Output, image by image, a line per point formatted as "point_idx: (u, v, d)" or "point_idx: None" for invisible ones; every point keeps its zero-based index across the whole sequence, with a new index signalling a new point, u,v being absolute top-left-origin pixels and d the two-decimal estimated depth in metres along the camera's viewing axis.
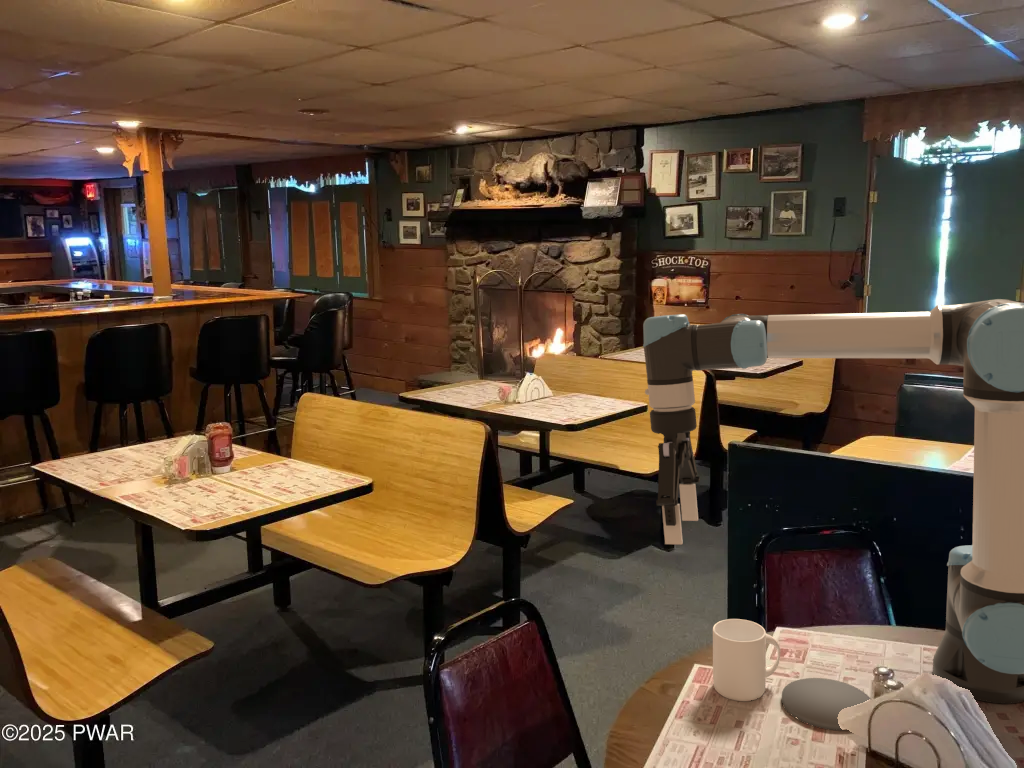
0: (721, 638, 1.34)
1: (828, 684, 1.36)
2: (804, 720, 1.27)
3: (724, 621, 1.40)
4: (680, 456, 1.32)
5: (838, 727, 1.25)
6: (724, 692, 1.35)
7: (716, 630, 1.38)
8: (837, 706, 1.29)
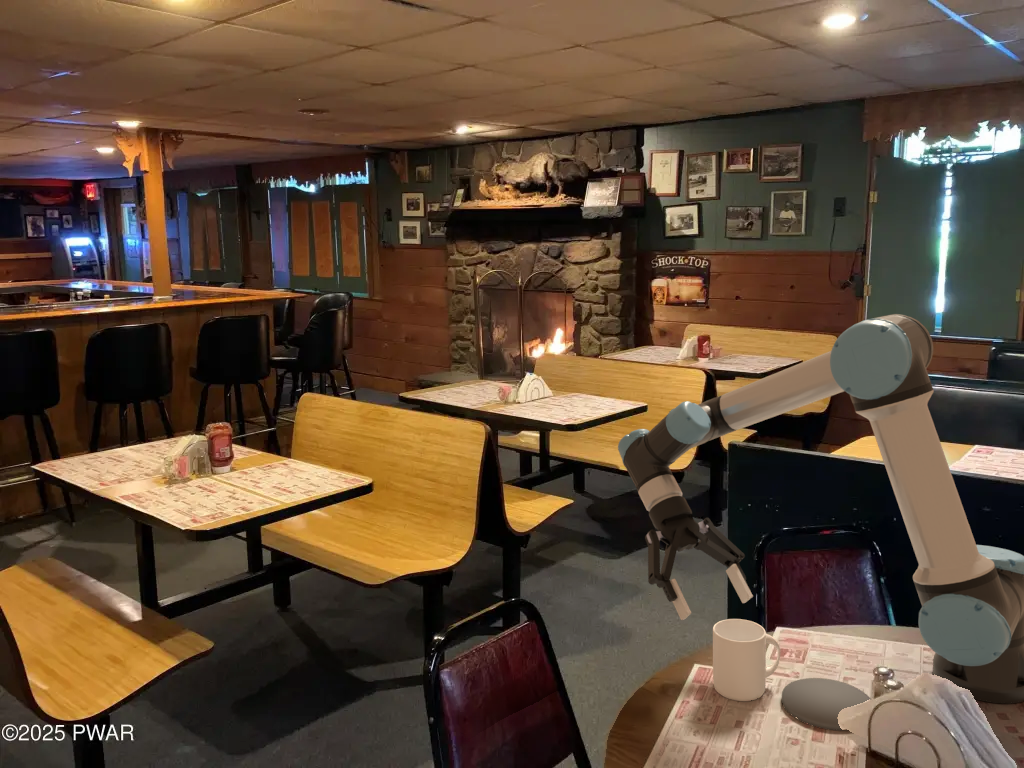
0: (721, 638, 1.34)
1: (828, 684, 1.36)
2: (804, 720, 1.27)
3: (724, 621, 1.40)
4: (673, 539, 1.47)
5: (838, 727, 1.25)
6: (724, 692, 1.35)
7: (716, 630, 1.38)
8: (837, 706, 1.29)
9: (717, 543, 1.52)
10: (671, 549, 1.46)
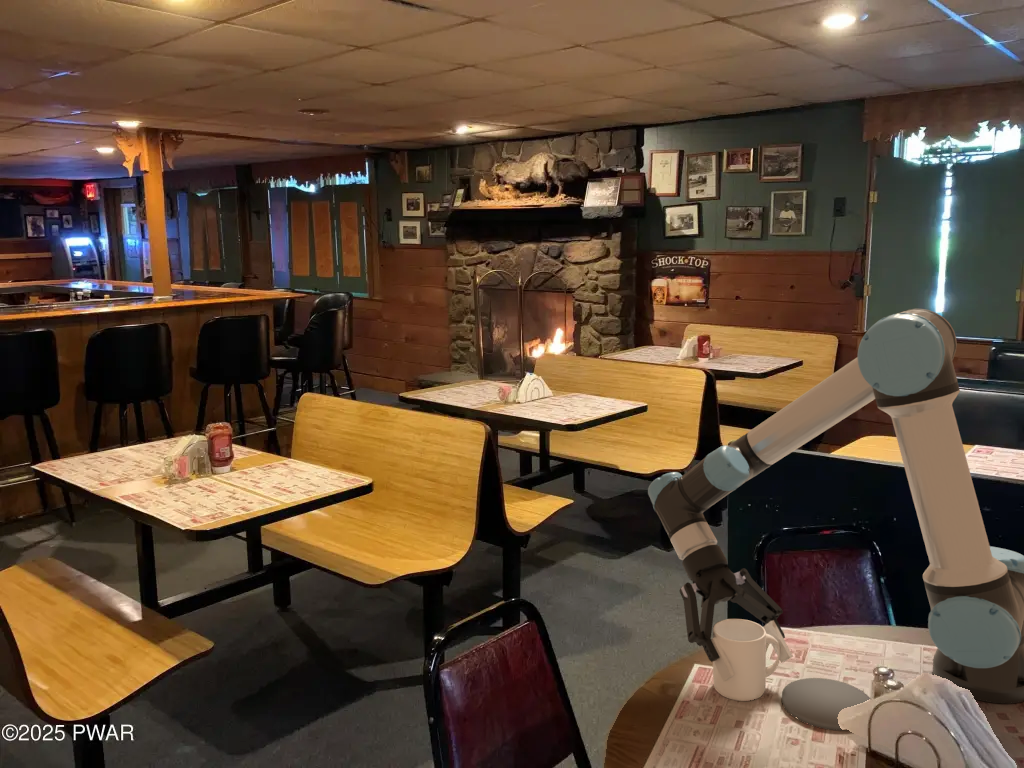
0: (721, 638, 1.34)
1: (828, 684, 1.36)
2: (804, 720, 1.27)
3: (724, 621, 1.40)
4: (709, 592, 1.40)
5: (838, 727, 1.25)
6: (724, 692, 1.35)
7: (716, 630, 1.38)
8: (837, 706, 1.29)
9: (754, 596, 1.44)
10: (709, 603, 1.39)
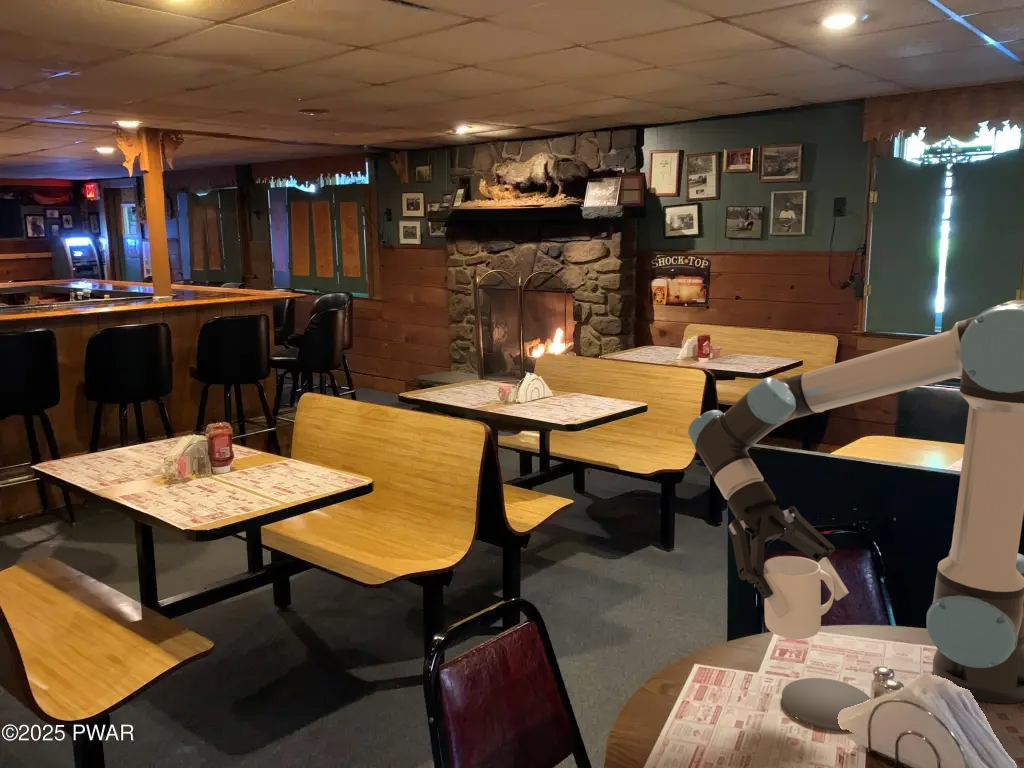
0: (774, 573, 1.28)
1: (828, 684, 1.36)
2: (804, 720, 1.27)
3: (775, 558, 1.34)
4: (759, 529, 1.34)
5: (838, 727, 1.25)
6: (778, 630, 1.28)
7: (767, 567, 1.32)
8: (837, 706, 1.29)
9: (804, 534, 1.38)
10: (759, 540, 1.33)
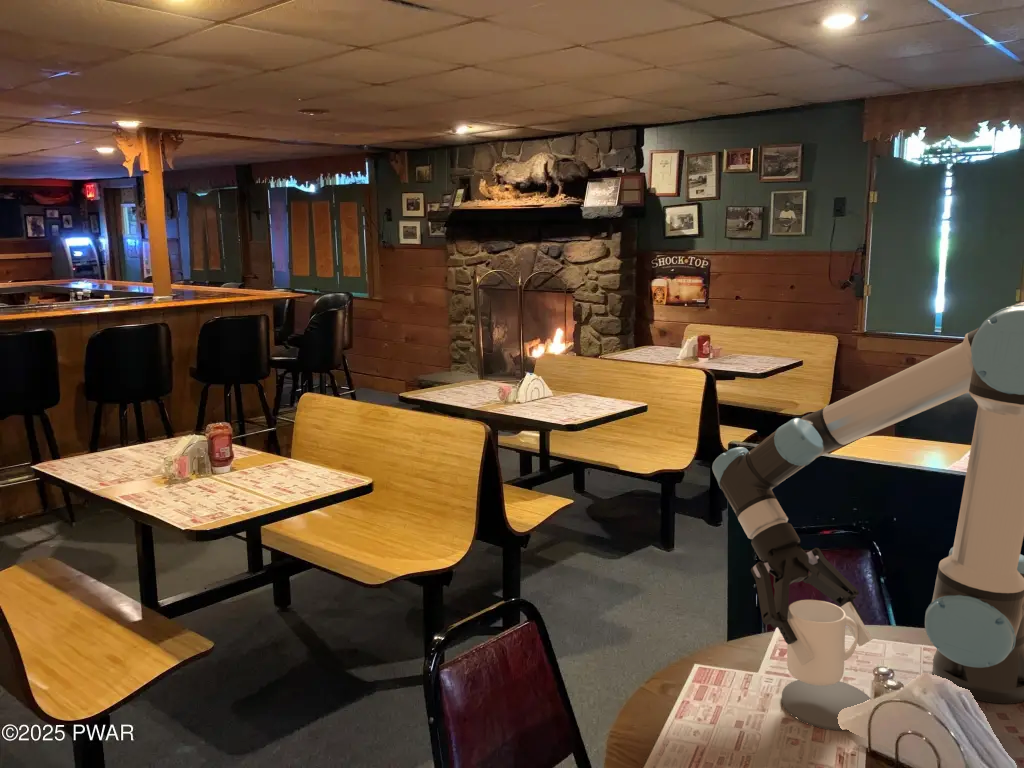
0: (799, 619, 1.27)
1: None
2: (804, 720, 1.27)
3: (798, 602, 1.33)
4: (783, 572, 1.33)
5: (838, 727, 1.25)
6: (801, 676, 1.28)
7: (791, 611, 1.31)
8: (837, 706, 1.29)
9: (827, 576, 1.37)
10: (783, 584, 1.32)
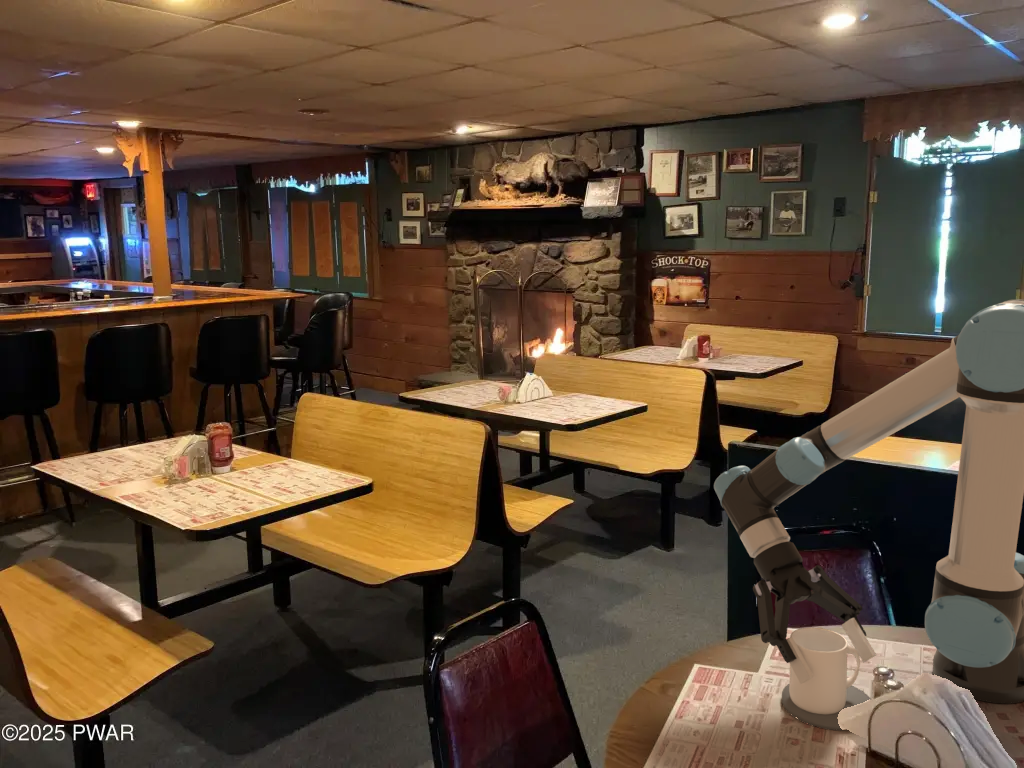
0: (801, 648, 1.27)
1: None
2: (804, 720, 1.27)
3: (800, 630, 1.33)
4: (785, 591, 1.33)
5: (838, 727, 1.25)
6: (804, 705, 1.28)
7: (793, 639, 1.32)
8: None
9: (830, 593, 1.38)
10: (784, 602, 1.32)
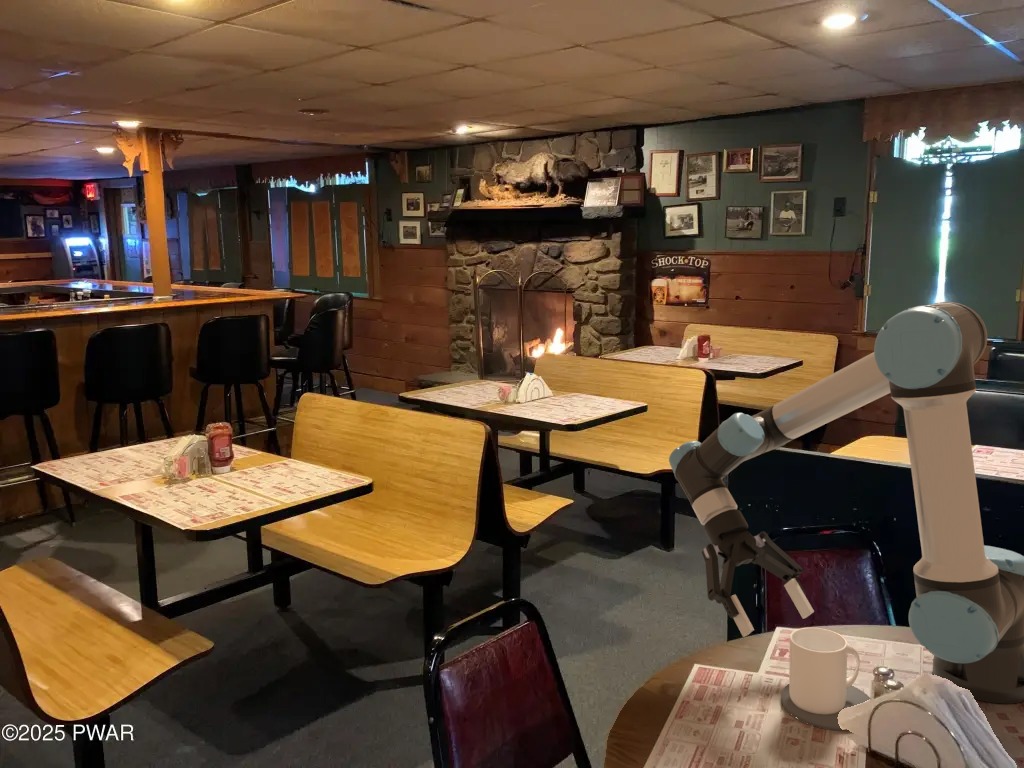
0: (801, 648, 1.27)
1: None
2: (804, 720, 1.27)
3: (800, 630, 1.33)
4: (731, 554, 1.45)
5: (838, 727, 1.25)
6: (803, 705, 1.28)
7: (792, 639, 1.32)
8: None
9: (774, 557, 1.49)
10: (730, 564, 1.43)
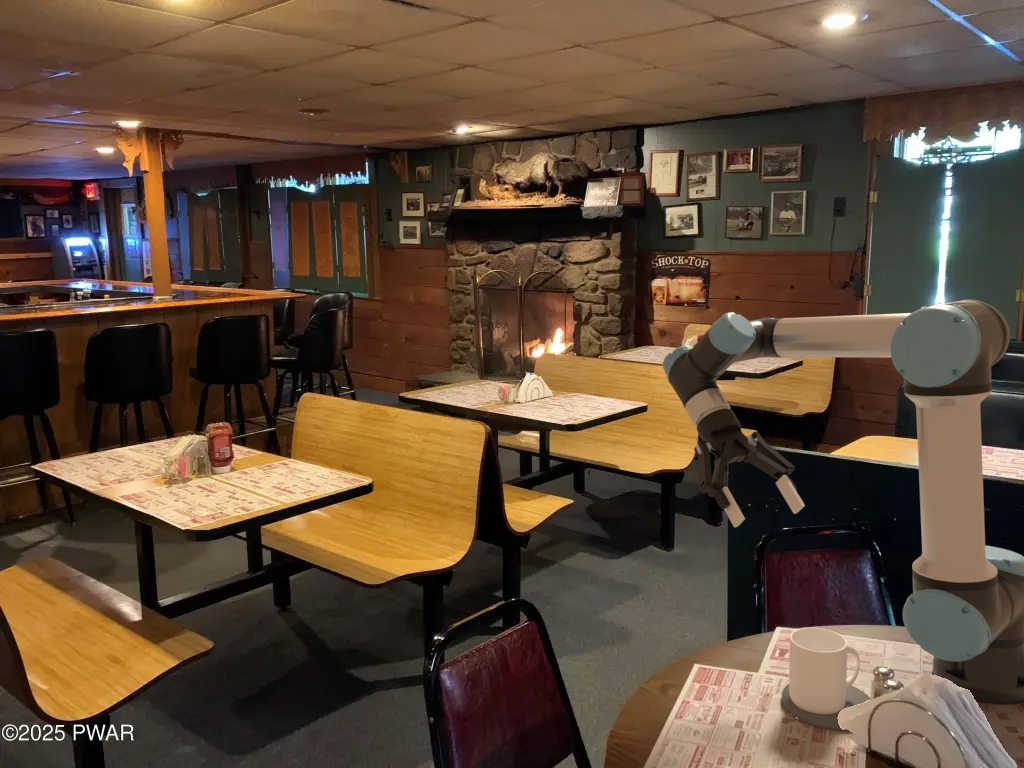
0: (801, 648, 1.27)
1: None
2: (804, 720, 1.27)
3: (800, 630, 1.33)
4: (723, 450, 1.46)
5: (838, 727, 1.25)
6: (803, 705, 1.28)
7: (792, 639, 1.32)
8: None
9: (766, 456, 1.50)
10: (722, 459, 1.44)
